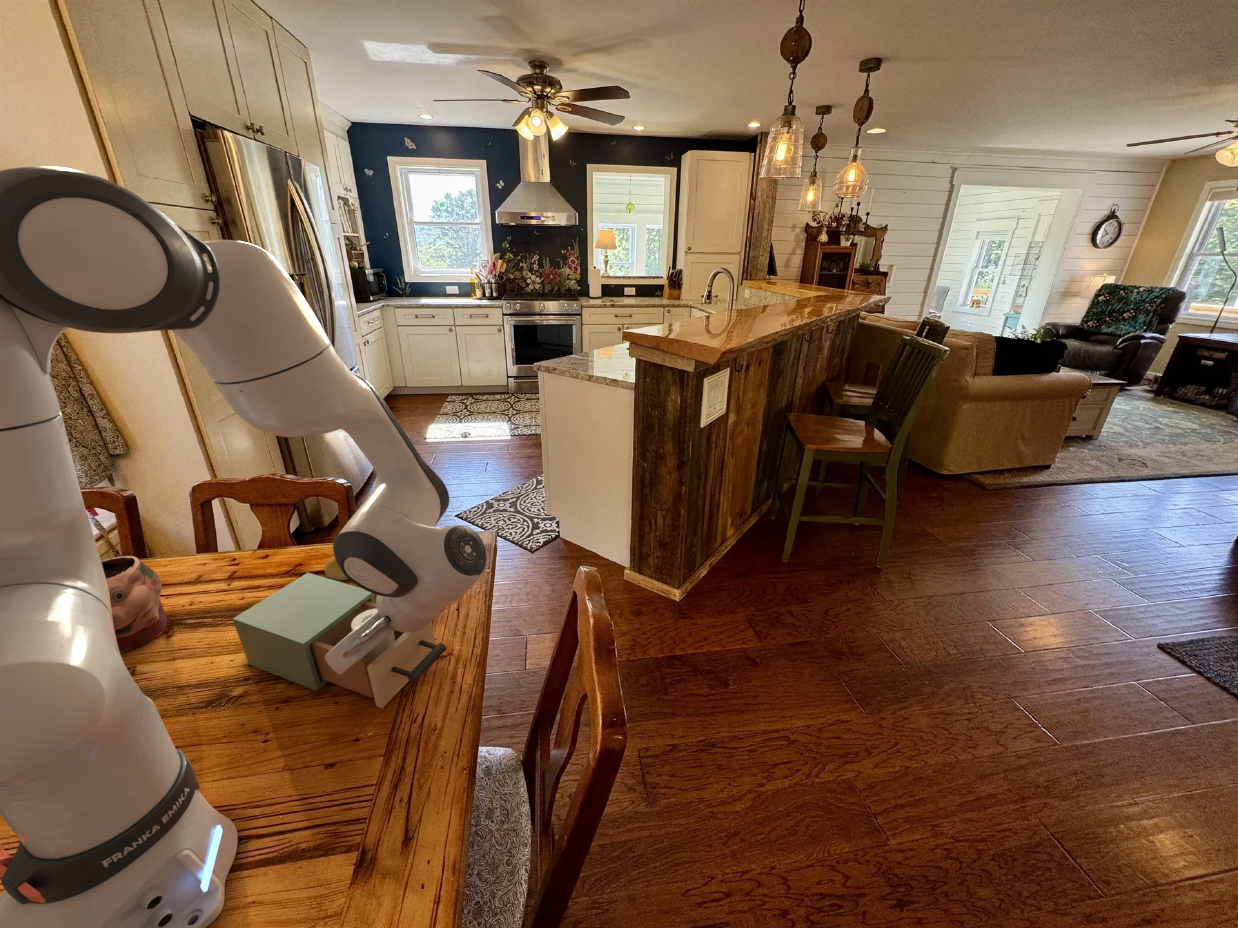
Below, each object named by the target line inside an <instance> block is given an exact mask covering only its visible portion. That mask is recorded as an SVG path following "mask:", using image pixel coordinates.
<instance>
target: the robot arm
mask: <svg viewBox="0 0 1238 928" xmlns="http://www.w3.org/2000/svg"><path fill="white" fill-rule="evenodd" d="M69 329H73V330H78V331H83V332H89V333H97V334H98V333H99V334H134V333H146V332H156V331H157V332H159V331H160V332H161V331H171V332H172V333H174V334H175V335H176V336H178V337H179V338H180V339H181V340H182V341H183V342H184V344H185V345H186V346H187V347H188V348H189V349H190V350H191V351H192V352H193V354H195V356H196V357H197V359H198V361H199V362H200V364H201V366H202V367H203V369H204V370H205V372H206V373H207V375H208V376H209V378H210V379H211V381H212V382H213V383H214V385H215V386H216V388H217V389H218V391H219V393H220V394H221V395H222V397H223V398H224V400H225V401H226V403H227V404H228V405H229V407H230V408H231V409H232V410H233V412H235V414H236V415H237V416H238V417H239V418H241V419H242V420H243V421H244V422H245V423H246V424H248V425H249V426H250V427H252V428H254V429H255V430H258V431H261V432H263V433H265V434H268V435H271V436H276V437H283V438H305V437H313V436H319V435H325V434H330V433H332V432H336V431H340V430H342V431H344V432H345V433H346V434H348V436H349V437H350V438H351V439H352V440H353V442H354V443H355V445H356V446H357V447H358V449H359V450H360V451H361V453H362V454H363V455H364V456H365V458H366V459H367V460H368V462H369V464H371V466H372V467H373V469H374V470H375V472H376V480H375V484H374V487H373V490H372V492H371V493H370V494H369V495H368V497H367V498H366V499H365V500H364V502H363V503H362V504H361V505H360V506H359V508H358V509H357V510H356V512H355V513H354V514H353V515H352V516H351V518H349V520H348V521H347V523H346V524H344V526H343V528H341V530H340V532H339V533H338V534H337V535H336V536H335V538H334V539H333V543H332V552H333V556H335V559H336V562H337V564H338V566H339V567H340V569H341V571H342V572H343V574H344V575H345V576H346V577H347V578H348V579H347V580H348V581H350V582H351V583H353V584H354V585H355V586H356V587H359V588H362V589H364V590H366V591H369V592H371V593H374V595H376V598H375V602H376V606H377V610H378V611H377V612H376V613H374V614H373V615H372V616H371V617H369V618H368V619H367V620H366V621H364V622H363V623H362V624H361V625H359V626H358V627H357V628H356V629H354V630H353V631H352V632H351V633H349V634H348V635H347V636H346V637H345V638H344V639H342V640H341V641H340V642H339V643H338V644H337V645H336V646H335V647H333V648H332V649H331V650H330V651H329V652H328V653H327V654H326V655H325V661H326V662H327V664H328V665H329V666H330V667H331V668H332V669H333V670H334V671H335V672H336V673H337V674H340V675H341V674H344V673H345V672H347V671H348V670H349V669H350V668H351V667H352V666H354V665H355V664H356V663H357V662H358V661H359V660H361V659H362V658H363V657H364V656H365V655H366V654H368V653H369V652H370V651H371V650H372V649H373V648H375V647H376V646H377V645H378V644H379V643H380V642H381V641H383V640H384V639H385V638H386V637H387V636H388V635H389V634H391V633H392V632H393V631H394V630H397V631H400V632H415V631H418V630H420V629H422V628H424V627H425V626H426V625H428V624H429V623H430V622H431V621H432V622H433V621H434V620H435V619H436V618H438V617H439V616H440V615H442V613H444V611H445V610H446V609H448V607H449V606H451V605H453V604H455V603H456V602H458V601H459V600H460V599H462V597H464V595H466V594H467V593H468V592H469V591H470V590H471V589H472V588H473V587H474V586H475V585H476V584H477V582H478V581H479V580H480V579H481V578H482V576H483V574H484V572H485V570H486V565H487V562H488V561H487V560H488V559H487V558H488V556H487V549H486V546H485V543H484V541H483V539H482V537H481V536H480V535H479V534H478V533H477V531H475V530H474V529H473V528H471V527H469V526H467V525H464V524H463V525H462V524H455V525H451V526H444V527H443V526H442V527H441V526H436V525H437V524H438V522H439V521H440V520H441V519H442V517H443V516H444V514H445V513H446V512H447V511H448V509H449V506H450V493H449V490H448V488H447V486H446V484H445V482H444V480H442V478H441V477H440V476H439V475H438V474H437V473H436V472H435V471H434V470H433V468H432V467H431V466H429V465H428V464H427V462H426V461H425V459H423V457H422V456H421V455H420V453H419V451H418V450H417V449H416V447H415V446H414V444H413V443H412V441H411V439H410V438H409V436H408V435H407V434H406V432H405V430H404V429H403V427H402V425H401V424H400V423H399V421H398V419H397V417H396V416H395V415H394V413H393V411H392V410H391V409H390V406H388V404H387V403H386V401H385V400H384V398H383V397H382V396H381V394H380V393H379V391H378V390H377V389H376V388H375V386H374V385H372V383H370V382H369V381H368V380H367V379H366V378H365V377H363V376H362V375H361V374H359V373H357V372H353V371H351V370H350V369H349V367H347V365H346V364H345V363H344V361H343V360H342V359H341V358H340V356H339V354H338V352H337V351H336V350H335V348H334V346H333V344H332V341H330V339H329V336H328V335H327V333H326V331H325V329H324V327H323V325H322V324H321V322H320V320H319V319H318V317H317V315H316V313H315V312H314V310H313V309H312V307H311V306H310V304H309V303H308V301H307V299H306V298H305V297H304V295H303V293H302V292H301V291H300V289H299V288H298V286H297V284H295V282H294V281H293V280H292V278H291V277H290V275H289V274H288V273H287V272H286V271H285V269H284V268H283V266H282V265H281V264H280V263H279V261H277V259H276V258H275V257H274V256H273V255H272V254H270V253H269V252H268V251H266V250H265V249H264V248H261V247H259V246H258V245H255V244H252V243H249V242H245V241H241V240H233V239H211V240H205V241H202V240H201V239H199V238H198V237H196V236H195V235H193V234H192V233H191V232H190V231H187V230H186V229H185V228H184V227H182V225H181V226H180V225H179V224H178V223H176V222H175V221H173V220H172V219H171V218H170V217H168V216H167V215H166V214H164V213H163V212H162V211H161V210H159V209H158V208H157V207H155V206H154V205H152V204H151V203H149V202H148V201H147V200H145V199H143V198H142V197H140V196H139V195H137V194H136V193H135V192H132V191H131V190H129V189H128V188H125V187H123V186H121V185H119V184H118V183H115V182H113V181H110V180H108V179H107V178H104V177H101V176H99V175H97V174H93V173H90V172H86V171H83V170H80V169H74V168H69V167H63V166H51V165H37V166H36V165H34V166H33V165H32V166H25V167H23V166H21V167H14V168H7V169H3V170H0V816H1V817H2V818H3V819H4V821H5V822H6V824H7V825H8V826H9V828H10V829H11V830H12V832H13V833H14V834H15V835H16V837H17V838H18V840H19V844H18V846H17V849H16V851H15V853H14V855H13V856H12V855H10V854H9V853H8V851H6V850H5V849H0V883H1V886H2V887H3V888H4V891H3V892H2V893H1V895H0V928H207V927H209V926H210V925H211V924H212V923H213V922H214V921H215V920H217V918H218V917H219V915H220V914H221V913H222V911H223V908H224V905H225V895H226V887H225V884H226V881H227V877H228V875H229V873H230V870H231V868H232V865H233V863H234V860H235V858H236V854H237V850H238V843H239V834H238V830H237V828H236V826H235V824H234V822H233V821H232V819H230V818H229V817H228V816H226V815H224V814H222V813H221V812H219V811H218V810H217V809H215V808H214V807H213V805H211V804H210V803H209V801H208V800H207V799H206V798H205V797H204V795H203V794H202V792H200V786H201V785H200V783H199V781H198V779H197V773H196V771H195V768H194V767H193V765H192V763H191V761H190V759H189V758H188V756H186V755H185V753H184V752H183V750H182V749H177V748H176V746H175V744H174V743H173V740H172V738H171V736H170V734H169V732H168V730H167V728H166V725H165V723H164V721H163V719H162V717H161V715H160V713H159V711H158V709H157V707H156V705H155V703H154V701H153V700H152V699H151V698H150V697H149V696H147V695H145V694H144V693H143V692H142V690H141V689H140V688H139V686H138V684H137V683H136V681H135V680H134V678H133V676H132V674H130V672H129V670H128V668H127V666H126V664H125V662H124V660H123V657H122V654H121V652H120V651H119V648H118V644H117V640H116V635H115V631H114V626H113V618H112V610H111V603H110V595H109V589H108V585H107V581H106V577H105V574H104V570H103V567H102V563H101V561H102V559H101V556H100V553H99V552H100V551H99V550H98V546H97V542H96V539H95V535H94V531H93V528H92V525H91V522H90V518H89V515H88V512H87V509H86V506H85V502H84V499H83V494H82V491H81V487H80V482H79V478H78V474H77V471H76V467H75V463H74V458H73V455H72V451H71V446H70V442H69V439H68V438H69V437H68V434H67V430H66V427H65V421H64V418H63V414H62V410H61V407H60V402H59V399H58V396H57V392H56V389H55V384H54V379H53V376H52V361H51V359H52V351H53V349H54V346H55V344H56V342H57V341H58V339H59V337H60V336H61V335H62V334H63V333H65V332H66V331H67V330H69ZM193 922H194V923H193ZM192 923H193V924H192Z"/></svg>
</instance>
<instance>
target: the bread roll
mask: <svg viewBox="0 0 1238 928" xmlns="http://www.w3.org/2000/svg"><path fill="white" fill-rule="evenodd" d="M324 573H325V575H326V577H327V578H328V579H331V580H335V581H345V580H349V579H348V578H347V577H346V576H345V575H344V574H343V572H342V571H341V569H340V567H339V566H338V564H337V562H336V559H335V556H334V555H333V556H331V557H330V558H329V559H328V560H327V562H326V563H325V566H324Z"/></svg>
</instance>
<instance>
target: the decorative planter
mask: <svg viewBox="0 0 1238 928" xmlns="http://www.w3.org/2000/svg"><path fill="white" fill-rule="evenodd" d="M101 563H102V567H103V570H104V574H105V577H106V581H107V585H108V589H109V595H110V603H111V610H112V618H113V626H114V631H115V635H116V640H117V644H118V648H119V651H120V653H122V652H125V651H130V650H132V649H134V648H137V647H141V646H142V645H144V644H147V643H149V642H150V641H152V640H154V639H156V638H157V637H159V636H160V635H161V634H162V633H163V632H164V631H165V630H166V627H167V623H168V621H167V614H166V611H165V609H164V607H163V604H162V601H161V597H160V596H161V594H162V589H163V587H162V581H161V578H160V576H159V574H158V573H157V572H156V571H155V570H154V569H153V568H151V567H150V566H148V565H147V564H145V563H144V562H143V561H142V560H141V559H139V557H136V556H132V555H124V556H116V557H112V558H106V559H103V560H101Z"/></svg>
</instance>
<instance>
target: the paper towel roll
mask: <svg viewBox="0 0 1238 928" xmlns="http://www.w3.org/2000/svg"><path fill="white" fill-rule="evenodd" d="M377 611H378V610H377V609H371V610H367V611H365V612H363V613H361V614H359V615H358V616H356V617H355V618H354V620H353V621H352V623H351V628H352V631H353V630H354V629H356V628H357V627H358V626H359V625H361V624H362V623H363V622H364V621H366V620H367V619H368V618H369V617H371V616H372V615H373V614H374V613H376V612H377ZM395 641H396V640H395V636H394V631H393V632H392V633H391V634H389V635H388V636H387V637H386V638H385V639H384V640H383V641H381V642H380V643H379V644H378V645H377V646H376V647H375V648H373V649H372V650H371V651H370V652H369V653H368V654H366V655H365V656H364V657H365V658H368V661H369V665H370V664H371V663H372V662H373V661H374V660H375V659H376V658H377V657H378V656H379V655H381V654H382V653H383V652H384V651H385V650H386V649H387V648H388V647H389V646H391V645H392V644H393V643H394V642H395Z"/></svg>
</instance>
